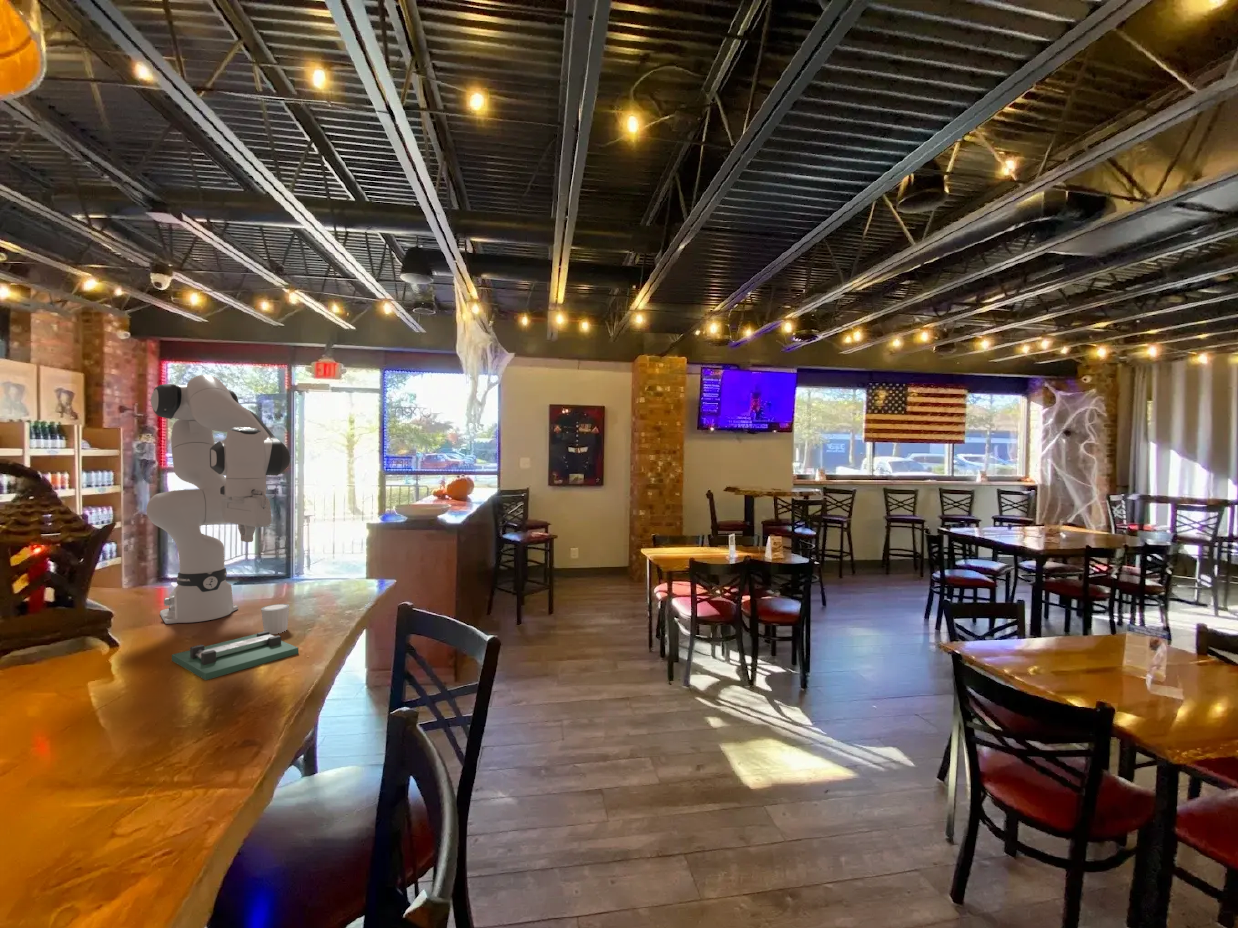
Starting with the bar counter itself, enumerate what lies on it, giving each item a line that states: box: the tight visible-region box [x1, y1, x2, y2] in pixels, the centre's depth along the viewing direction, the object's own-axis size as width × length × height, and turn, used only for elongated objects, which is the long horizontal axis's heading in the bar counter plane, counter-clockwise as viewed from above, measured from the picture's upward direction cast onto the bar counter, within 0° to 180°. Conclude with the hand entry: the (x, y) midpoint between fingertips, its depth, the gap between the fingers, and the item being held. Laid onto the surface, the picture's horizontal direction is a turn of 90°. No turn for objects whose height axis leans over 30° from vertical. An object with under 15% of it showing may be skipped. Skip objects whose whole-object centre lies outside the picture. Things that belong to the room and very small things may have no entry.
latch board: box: [171, 630, 299, 681], centre depth 139 cm, size 20×20×4 cm
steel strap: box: [195, 634, 275, 659], centre depth 140 cm, size 4×16×2 cm, turn 146°
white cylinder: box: [260, 603, 290, 635], centre depth 159 cm, size 7×7×7 cm
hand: (247, 541), depth 148 cm, fingers closed
